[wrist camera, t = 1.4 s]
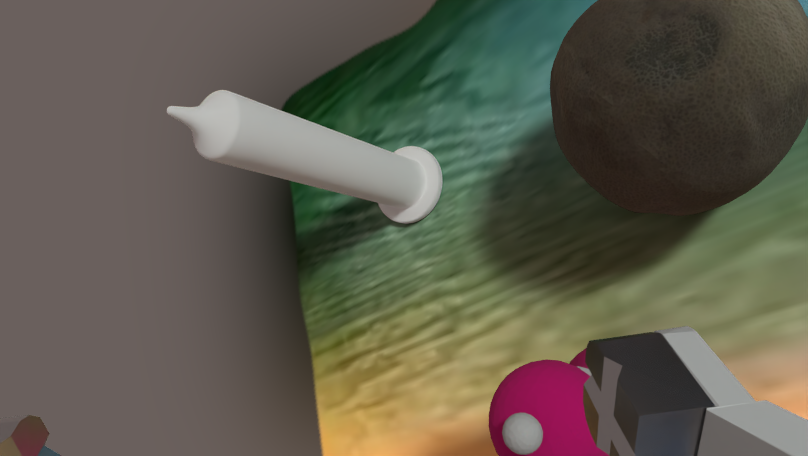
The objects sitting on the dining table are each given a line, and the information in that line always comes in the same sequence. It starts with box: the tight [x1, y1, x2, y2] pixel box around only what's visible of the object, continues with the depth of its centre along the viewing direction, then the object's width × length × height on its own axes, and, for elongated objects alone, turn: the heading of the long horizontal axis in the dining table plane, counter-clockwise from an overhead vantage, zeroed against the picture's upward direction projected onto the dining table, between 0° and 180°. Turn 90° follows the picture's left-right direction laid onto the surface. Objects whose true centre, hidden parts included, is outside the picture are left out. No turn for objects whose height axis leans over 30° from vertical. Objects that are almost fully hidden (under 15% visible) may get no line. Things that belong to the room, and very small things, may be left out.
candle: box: [167, 90, 442, 224], centre depth 46 cm, size 7×7×25 cm
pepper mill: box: [489, 349, 610, 456], centre depth 34 cm, size 7×7×20 cm
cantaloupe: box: [550, 0, 808, 216], centre depth 36 cm, size 14×14×15 cm
